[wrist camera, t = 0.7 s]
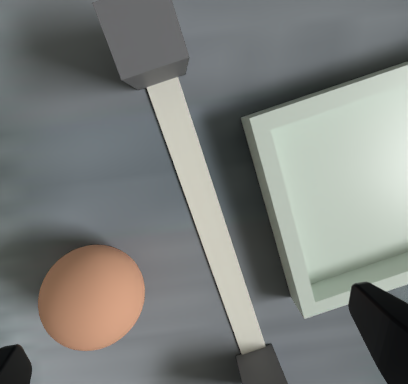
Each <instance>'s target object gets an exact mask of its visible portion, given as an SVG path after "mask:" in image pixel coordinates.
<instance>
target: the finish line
mask: <svg viewBox="0 0 408 384" xmlns="http://www.w3.org/2000/svg"><path fill="white" fill-rule="evenodd" d="M93 6H94V9H95V11H96V14H97V17H98V19H99V22H100V25H101V27H102V30H103V33H104V35H105V38H106V41H107V43H108V46H109V48H110V51H111V54H112V56H113V59H114V62H115V64H116V67H117V70H118V72H119V75H120V78H121V80H122V81H124V82H125V83H127V84H129V85H131V86H132V87H134V88H136V89H138V90H141V89H144V88H147V90H148V93H149V96H150V99H151V102H152V104H153V107H154V110H155V113H156V116H157V118H158V121H159V124H160V127H161V130H162V132H163V135H164V138H165V141H166V144H167V146H168V149H169V152H170V155H171V158H172V160H173V163H174V166H175V169H176V172H177V174H178V177H179V180H180V183H181V186H182V188H183V191H184V194H185V197H186V200H187V202H188V205H189V208H190V211H191V214H192V216H193V219H194V222H195V225H196V228H197V230H198V233H199V236H200V239H201V242H202V244H203V247H204V250H205V253H206V256H207V258H208V261H209V264H210V267H211V270H212V272H213V275H214V278H215V281H216V284H217V287H218V289H219V292H220V295H221V298H222V301H223V303H224V306H225V309H226V312H227V315H228V317H229V320H230V323H231V326H232V329H233V331H234V334H235V337H236V340H237V343H238V345H239V348H240V351H241V354H240V355H237V356H236V359H237V364H238V368H239V372H240V376H241V380H242V384H288V383H287V381H286V378H285V376H284V373H283V371H282V368H281V366H280V363H279V361H278V358H277V356H276V354H275V351H274V349H273V346H272V344H270V345H267V346H265V342H264V339H263V336H262V333H261V330H260V327H259V324H258V321H257V318H256V315H255V312H254V309H253V306H252V303H251V300H250V296H249V293H248V290H247V287H246V284H245V281H244V278H243V275H242V272H241V269H240V266H239V263H238V260H237V257H236V254H235V251H234V247H233V244H232V241H231V238H230V235H229V232H228V229H227V226H226V223H225V220H224V217H223V214H222V211H221V208H220V205H219V202H218V198H217V195H216V192H215V189H214V186H213V183H212V180H211V177H210V174H209V171H208V168H207V165H206V162H205V159H204V156H203V153H202V149H201V146H200V143H199V140H198V137H197V134H196V131H195V128H194V125H193V122H192V119H191V116H190V113H189V110H188V107H187V103H186V100H185V97H184V94H183V91H182V88H181V85H180V82H179V79H178V77H179V76H182V75H185V74H186V70H187V66H188V62H189V54H188V51H187V48H186V45H185V41H184V38H183V35H182V32H181V28H180V25H179V22H178V19H177V16H176V12H175V9H174V6H173V3H172V0H99V1H96V2H93Z"/></svg>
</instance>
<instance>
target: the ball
mask: <svg viewBox="0 0 408 384" xmlns="http://www.w3.org/2000/svg"><path fill="white" fill-rule="evenodd" d="M144 298H145V286H144V280H143V277H142V274H141V272H140V270H139V268H138V266H137V264H136V263H135V262H134V261H133V260H132V258H131V257H129V256H128V255H127V254H126V253H124V252H122V251H121V250H119V249H117V248H114V247H111V246H106V245H88V246H84V247H80V248H77V249H75V250H73V251H71V252H69V253H67V254H66V255H64V256H63V257H62V258H60V259H59V260H58V261H57V262H56V263H55V264H54V265H53V266H52V267H51V269H50V270H49V271H48V273H47V274H46V276H45V278H44V280H43V282H42V285H41V288H40V292H39V298H38V309H39V316H40V319H41V322H42V324H43V326H44V328H45V330H46V331H47V333H48V334H49V335H50V336H51V337H52V338H53V339H54V340H55V341H57V342H58V343H60V344H61V345H63V346H65V347H68V348H70V349H74V350H80V351H90V350H98V349H101V348H104V347H107V346H109V345H111V344H113V343H115V342H117V341H118V340H119V339H121V338H122V337H123V336H125V335H126V334H127V333H128V332H129V330H130V329H131V328H132V327H133V326H134V324H135V323H136V321H137V319H138V317H139V315H140V313H141V311H142V307H143V304H144Z"/></svg>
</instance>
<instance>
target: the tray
mask: <svg viewBox="0 0 408 384" xmlns="http://www.w3.org/2000/svg"><path fill="white" fill-rule="evenodd" d="M241 121H242V125H243V128H244V132H245V135H246V139H247V143H248V146H249V150H250V153H251V157H252V160H253V164H254V167H255V171H256V174H257V178H258V182H259V185H260V189H261V192H262V196H263V199H264V203H265V206H266V210H267V213H268V217H269V221H270V224H271V228H272V231H273V235H274V238H275V242H276V245H277V249H278V252H279V256H280V259H281V263H282V267H283V270H284V274H285V277H286V281H287V284H288V288H289V291H290V295H291V298H292V300H293V301H294V303H295V304H296V306H297V308H298V309H299V311H300V313H301V314H302V316H303V317H304V319H306V318H309V317H312V316H315V315H318V314H321V313H324V312H327V311H330V310H333V309H336V308H339V307H342V306H345V305H347V304H348V303H349V297H350V291H351V286H352V285H353V284H354V283H359V282H370V283H372V284H373V285H375V286H377V287H379V288H381V289H382V290H384V291H389V290H392V289H395V288H398V287H401V286H404V285H407V284H408V61H407V62H404V63H401V64H398V65H395V66H392V67H389V68H386V69H383V70H380V71H377V72H374V73H371V74H368V75H365V76H362V77H359V78H356V79H353V80H350V81H347V82H344V83H342V84H339V85H336V86H333V87H330V88H327V89H324V90H321V91H318V92H315V93H312V94H309V95H306V96H303V97H300V98H297V99H294V100H291V101H288V102H285V103H282V104H279V105H276V106H273V107H270V108H267V109H264V110H261V111H259V112H256V113H253V114H250V115H247V116H244V117H241Z"/></svg>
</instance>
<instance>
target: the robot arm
mask: <svg viewBox="0 0 408 384" xmlns="http://www.w3.org/2000/svg"><path fill="white" fill-rule="evenodd" d="M348 306H349V311H350V314H351V316H352V318H353V320H354V322H355V324H356V326H357V328H358V330H359V332H360V334H361V336H362V338H363V340H364V342H365V344H366V346H367V348H368V350H369V352H370V354H371V356H372V358H373V360H374V362H375V363H376V365H377V367H378V369H379V371H380V372H381V374H382V376H383V377H384V379H385V380H386V382H387V384H408V303H406V302H404V301H402V300H401V299H399V298H397V297H395V296H393V295H392V294H390V293H388V292H386V291H384V290H382V289H381V288H379V287H377V286H375V285H373V284H372V283H370V282H359V283H354V284H353V285H352V286H351V291H350V297H349V303H348ZM31 374H32V366H31V362H30V361H29V359H28V357H27V355H26V353H25V352H24V350H23V348H22V346H20V345H19V344H16V345H10V346H5V347H2V348H0V384H30V379H31Z"/></svg>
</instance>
